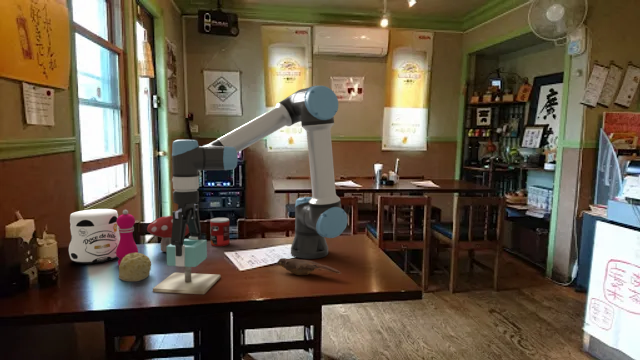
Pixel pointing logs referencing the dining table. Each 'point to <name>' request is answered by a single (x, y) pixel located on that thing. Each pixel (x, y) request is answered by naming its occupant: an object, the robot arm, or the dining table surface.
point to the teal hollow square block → (189, 252)
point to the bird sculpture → (303, 266)
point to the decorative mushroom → (163, 230)
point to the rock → (134, 267)
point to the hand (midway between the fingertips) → (187, 260)
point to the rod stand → (187, 283)
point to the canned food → (219, 231)
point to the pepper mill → (125, 236)
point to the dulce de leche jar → (93, 236)
